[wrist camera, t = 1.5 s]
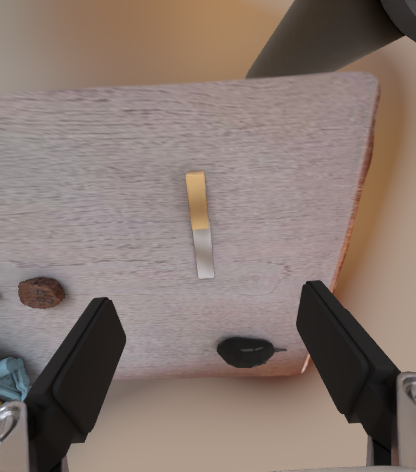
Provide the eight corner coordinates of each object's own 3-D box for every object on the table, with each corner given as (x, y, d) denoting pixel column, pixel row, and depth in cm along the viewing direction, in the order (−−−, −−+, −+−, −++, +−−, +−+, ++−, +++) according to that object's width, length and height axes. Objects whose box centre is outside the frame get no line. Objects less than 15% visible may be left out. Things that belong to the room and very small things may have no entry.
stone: (70, 277, 32) (57, 290, 29) (70, 307, 35) (58, 322, 33) (27, 266, 31) (9, 279, 28) (30, 298, 34) (14, 313, 32)
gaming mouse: (281, 357, 43) (288, 377, 40) (215, 352, 42) (215, 372, 39) (290, 340, 40) (298, 360, 36) (219, 334, 39) (220, 354, 36)
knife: (185, 171, 25) (183, 175, 23) (205, 170, 25) (206, 173, 23) (198, 276, 33) (198, 288, 30) (214, 275, 33) (214, 287, 30)
